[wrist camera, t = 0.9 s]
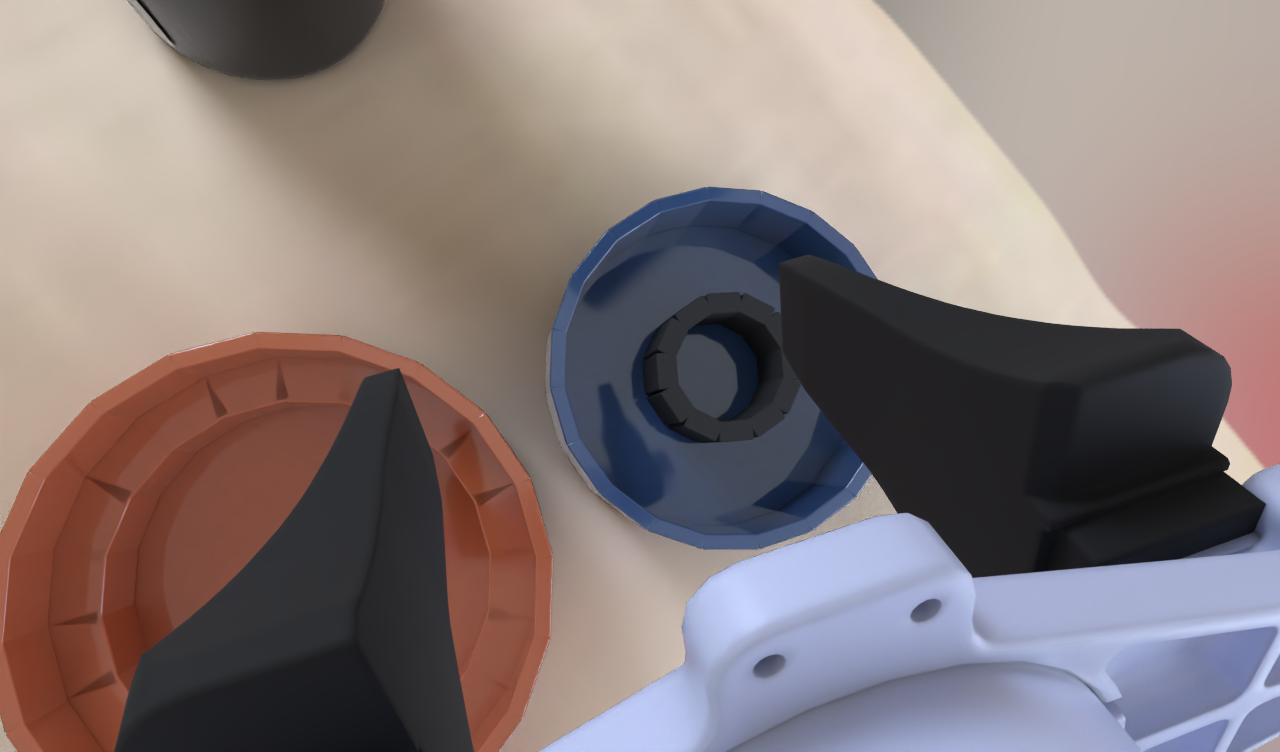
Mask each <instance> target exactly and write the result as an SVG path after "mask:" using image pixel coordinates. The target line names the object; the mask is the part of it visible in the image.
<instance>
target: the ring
mask: <svg viewBox="0 0 1280 752" xmlns="http://www.w3.org/2000/svg"><path fill="white" fill-rule="evenodd" d="M774 310H775V308H774V307H772V306H770V305H768V304H766V303H764V302H762V301H760V300H758V299H756V298H754V297H752V296H750V295H748V294H746V293H744V294H742V295H741V294H740V293H739V292H728V293H710V294H707V295H705V296H700V297H698V298H697V299H695V300H694V301H692V302H691V303H690V304H688V305H687V306H685V307H684V308H682V309H681V310H679V311H678V312H676V313H675V314H674V315H672V316H671V317H670V318H669V319H667V320H666V321H665V322H664V323H662V324H661V325H660V327H659V328H658V329H657V330H656V331H655V333H654V335H653V337H652V339H651V342H650V344H649V346H648V348H647V350H646V352H645V354H644V357H643V358H644V359H645V360H646V361H644V362H643V363H642V367H643V379H644V391H645V394H646V395H649V394H652V395H650V396H649V397H648V398H647V400H648V402H649V403H650V405H651V406H652V408H653V409H654V411H655V412H656V413H657V415H658V416H659V418H660V419H661V421H662V422H663V424H664V425H668V424H669V426H668V428H669V429H670V430H672V431H674V432H676V433H679V434H681V435H683V436H685V437H687V438H689V439H691V440H693V441H695V442H701V443H718V442H732V441H744V440H753V439H754V437H760V436H762V435H763V434H764V433H766V432H767V431H768V430H770V429H771V428H773V427H774V426H775V425H777V424H778V423H779V422H781V421H782V420H784V418H785V416H784V414H788V413H789V412H790V409H791V407H792V405H793V403H794V400H795V398H796V396H797V393H798V391H799V389H800V386H801V383H800V382H799V381H797V380H799V379H798V378H797V376H796V374H795V373H794V371H793V369H792V367H791V366H790V364H789V362H788V360H787V358H786V357H785V355H784V353H783V351H782V328H781V314H780V313H779V312H776V313H774ZM773 313H774V314H773ZM712 324H719V325H721V326H723V327H725V328H727V329H729V330H731V331H733V332H735V333H737V334H739V335H741V336H742V337H743V338H744V340H745V341H746V343H747V344H748V346H749V347H750V349H751V350H752V351H753V353H754V354H755V356H756V359H757V369H758V380H759V384H758V387H757V389H756V391H755V393H754V396H753V398H752V400H751V402H750V405H749V407H747V408H746V409H744V410H743V411H742V412H740V413H739V414H738V415H736V416H735V417H733V418H732V419H731V420H729V421H720V420H718V419H716V418H714V417H711V416H709V415H707V414H705V413H703V412H701V411H699V410H697V409H695V408H694V406H693V405H692V403H691V402H690V400H689V399H688V397H687V396H686V394H685V393H684V392H683V390H682V389H681V387H680V386H679V381H678V370H677V358H676V355H677V353H678V351H679V349H680V347H681V344H682V342H683V340H684V338H685V336H686V334H687V332H688V330H689V329H690V328H692V327H693V326H695V325H712Z"/></svg>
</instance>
